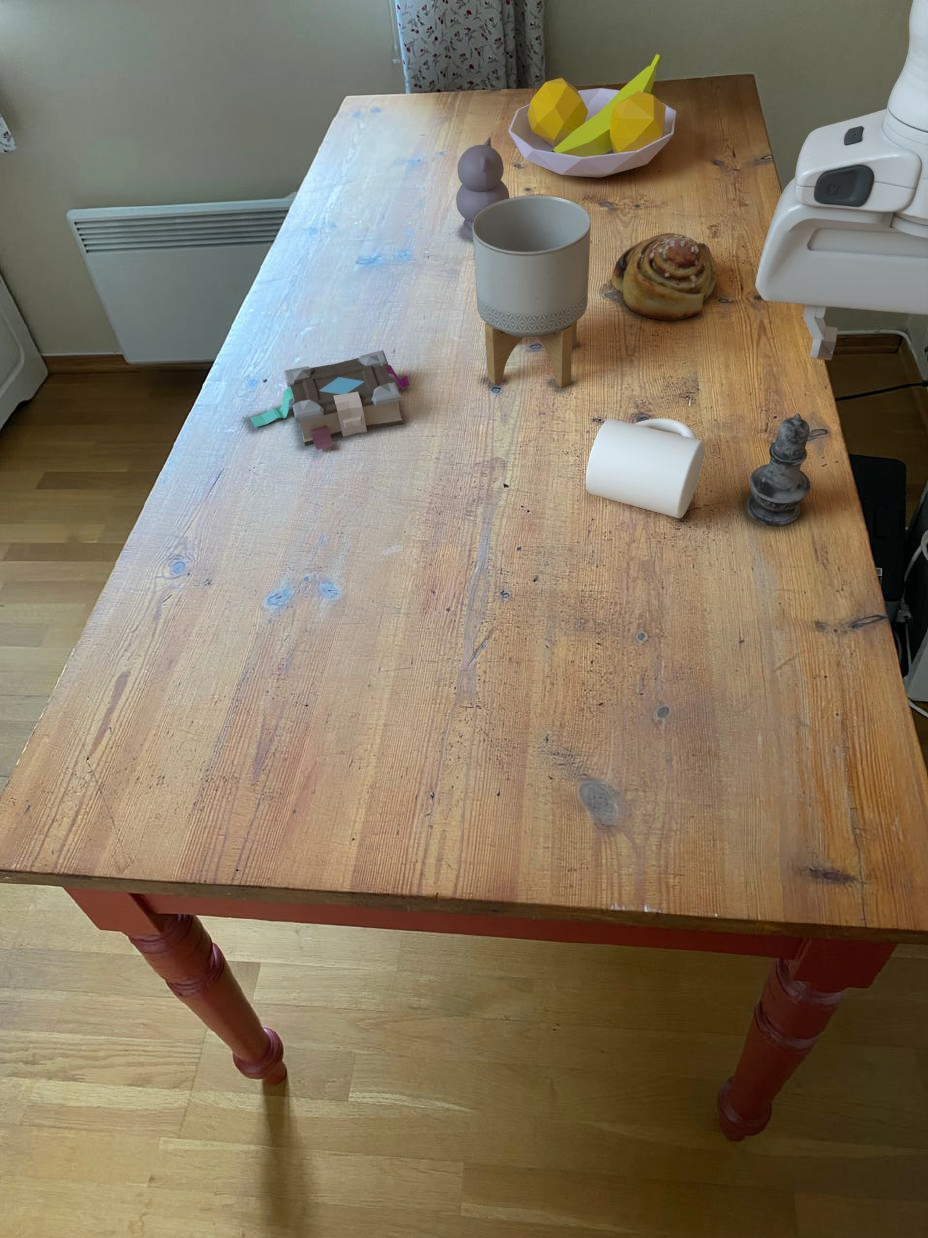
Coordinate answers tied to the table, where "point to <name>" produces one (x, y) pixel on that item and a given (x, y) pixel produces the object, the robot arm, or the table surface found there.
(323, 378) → the book
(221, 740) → the table surface
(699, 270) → the pastry
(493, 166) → the grey bird figurine
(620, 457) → the mug
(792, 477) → the chess piece
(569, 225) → the planter
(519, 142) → the fruit bowl
